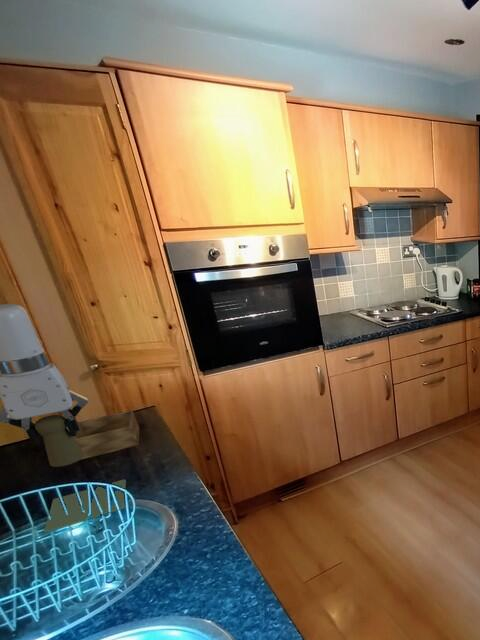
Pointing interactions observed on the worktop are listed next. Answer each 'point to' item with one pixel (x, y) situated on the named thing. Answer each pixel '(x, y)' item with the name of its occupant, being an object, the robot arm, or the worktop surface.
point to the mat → (75, 510)
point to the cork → (58, 441)
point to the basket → (107, 434)
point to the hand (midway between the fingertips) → (57, 437)
